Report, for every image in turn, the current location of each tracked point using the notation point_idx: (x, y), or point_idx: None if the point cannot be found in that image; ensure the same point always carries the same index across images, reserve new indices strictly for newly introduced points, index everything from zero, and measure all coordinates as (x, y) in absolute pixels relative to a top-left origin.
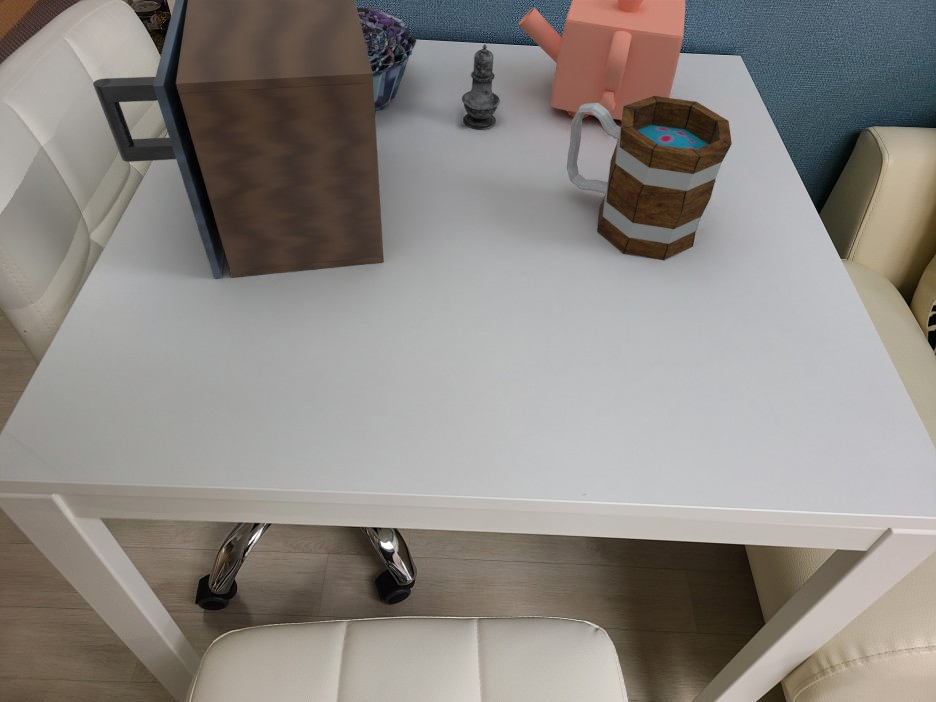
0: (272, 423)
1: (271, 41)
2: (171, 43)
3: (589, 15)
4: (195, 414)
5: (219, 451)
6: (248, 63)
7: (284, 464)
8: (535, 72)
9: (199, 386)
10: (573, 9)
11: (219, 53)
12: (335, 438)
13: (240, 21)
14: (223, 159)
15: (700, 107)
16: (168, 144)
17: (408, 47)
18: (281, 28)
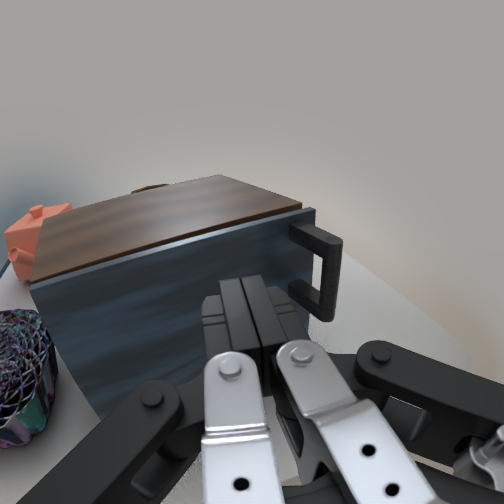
0: (369, 298)
1: (196, 198)
2: (234, 226)
3: (42, 221)
4: (391, 322)
5: (395, 305)
6: (242, 194)
7: (379, 287)
8: (13, 296)
9: (379, 330)
10: (33, 226)
11: (236, 204)
12: (355, 280)
13: (163, 216)
14: None
15: (136, 190)
16: (303, 281)
17: (7, 314)
18: (169, 202)
